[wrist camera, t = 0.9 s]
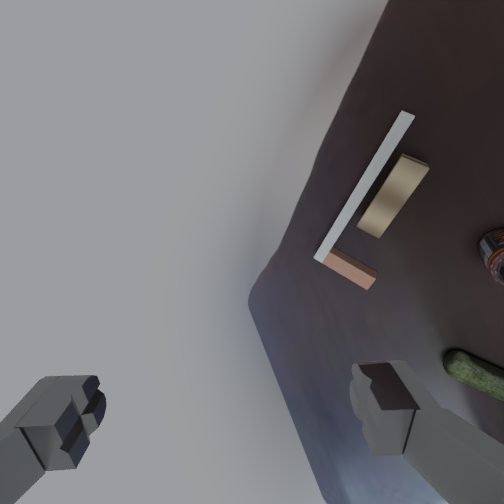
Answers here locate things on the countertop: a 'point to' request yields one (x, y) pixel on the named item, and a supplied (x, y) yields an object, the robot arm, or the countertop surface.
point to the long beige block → (393, 194)
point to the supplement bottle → (493, 253)
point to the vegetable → (475, 373)
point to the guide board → (327, 251)
